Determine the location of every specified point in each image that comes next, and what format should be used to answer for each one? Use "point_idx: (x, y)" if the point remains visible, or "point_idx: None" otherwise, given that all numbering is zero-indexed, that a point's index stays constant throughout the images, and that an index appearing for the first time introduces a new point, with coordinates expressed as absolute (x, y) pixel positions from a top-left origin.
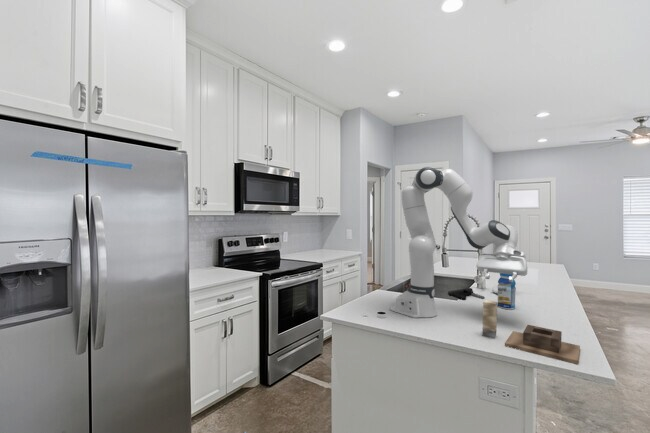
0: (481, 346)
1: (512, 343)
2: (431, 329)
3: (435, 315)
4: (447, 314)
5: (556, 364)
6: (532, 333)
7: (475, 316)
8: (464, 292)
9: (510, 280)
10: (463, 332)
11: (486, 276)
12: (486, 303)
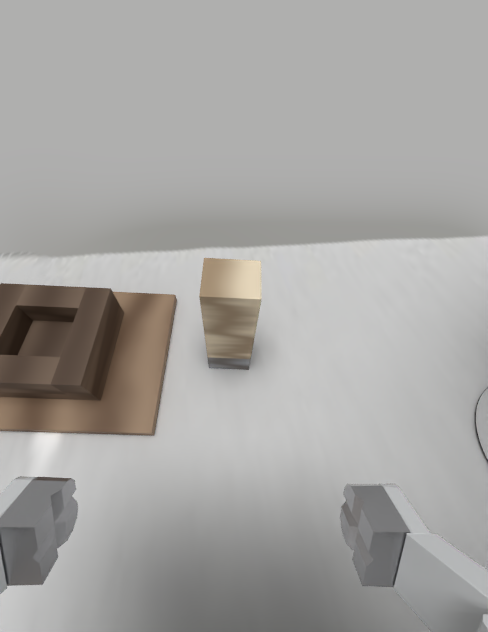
0: None
1: (154, 302)
2: (388, 297)
3: (481, 442)
4: (471, 524)
5: (56, 264)
6: (80, 291)
7: (360, 617)
8: None
9: (51, 480)
10: (306, 332)
11: (381, 488)
12: (244, 262)
